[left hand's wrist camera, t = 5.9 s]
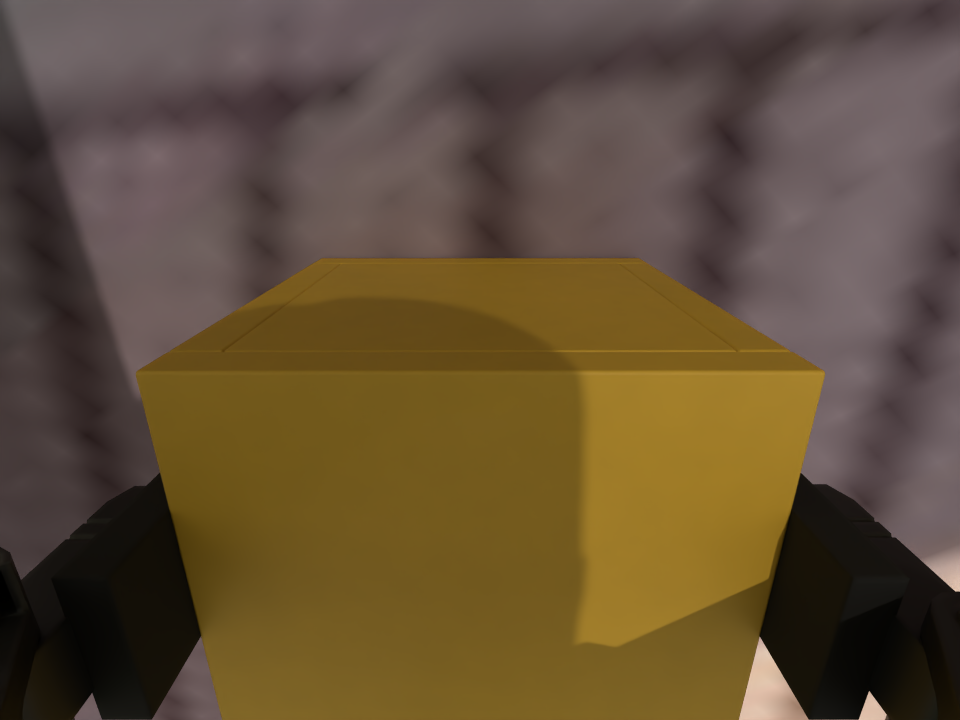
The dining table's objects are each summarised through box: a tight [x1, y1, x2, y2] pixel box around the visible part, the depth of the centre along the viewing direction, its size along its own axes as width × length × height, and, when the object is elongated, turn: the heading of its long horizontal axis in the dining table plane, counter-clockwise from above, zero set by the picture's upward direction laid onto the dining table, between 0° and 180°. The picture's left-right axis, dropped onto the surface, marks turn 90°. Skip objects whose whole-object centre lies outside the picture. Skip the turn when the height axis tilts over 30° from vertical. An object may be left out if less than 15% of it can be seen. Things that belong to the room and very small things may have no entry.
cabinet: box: [136, 258, 825, 720], centre depth 15 cm, size 17×10×10 cm, turn 0°
